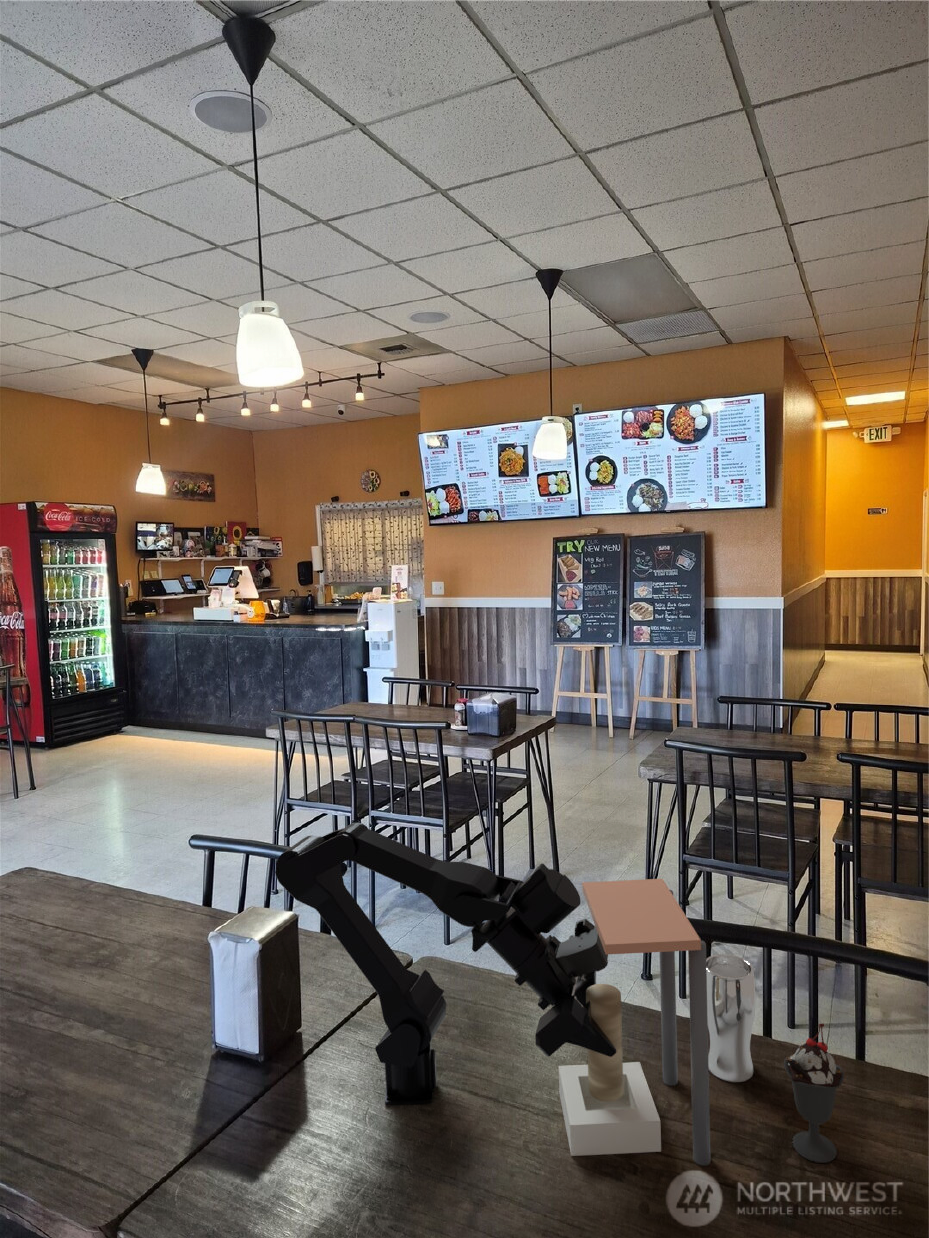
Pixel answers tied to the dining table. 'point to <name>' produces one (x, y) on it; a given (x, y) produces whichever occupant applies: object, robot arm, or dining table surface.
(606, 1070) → the dowel
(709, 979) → the beer glass
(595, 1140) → the table parts
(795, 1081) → the sundae
